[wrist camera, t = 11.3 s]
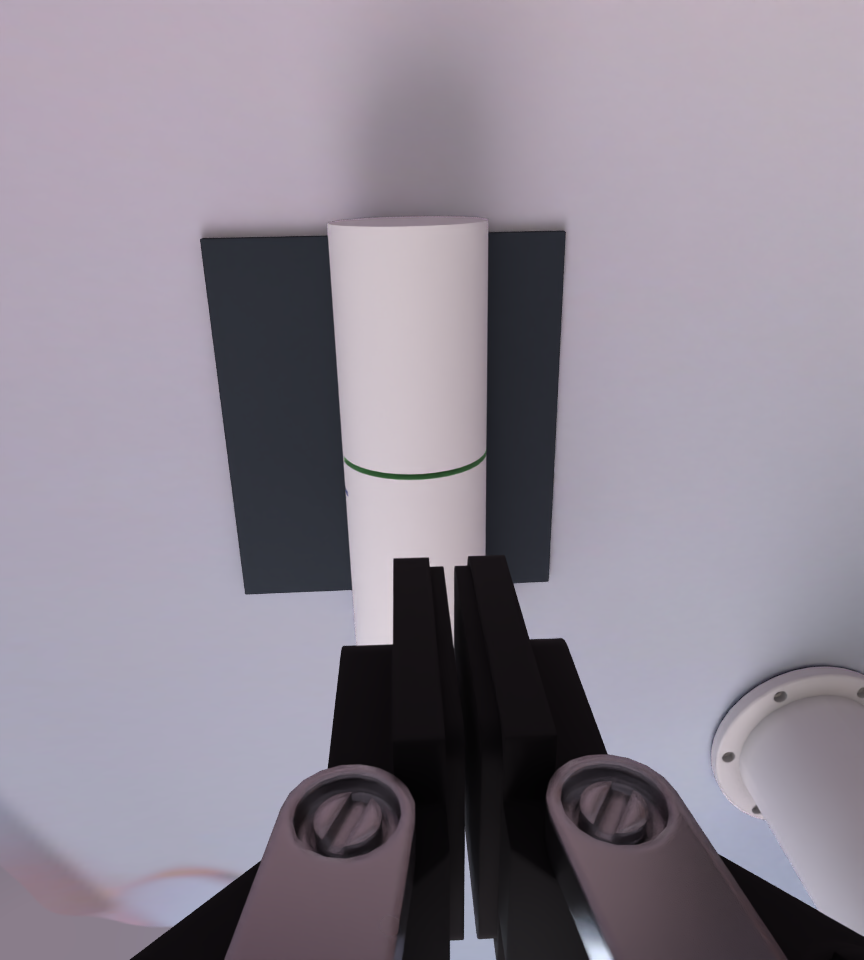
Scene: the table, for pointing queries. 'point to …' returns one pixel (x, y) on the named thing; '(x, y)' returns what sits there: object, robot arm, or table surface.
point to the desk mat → (316, 410)
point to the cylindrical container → (410, 399)
